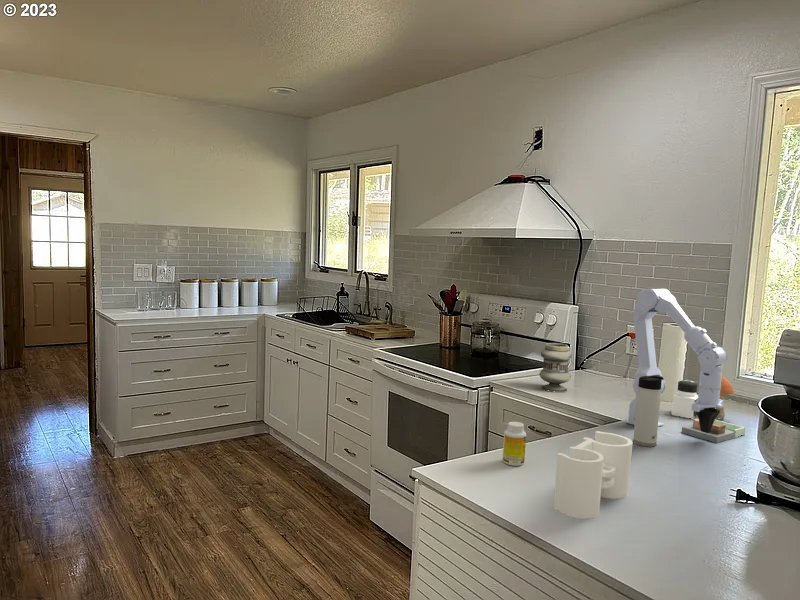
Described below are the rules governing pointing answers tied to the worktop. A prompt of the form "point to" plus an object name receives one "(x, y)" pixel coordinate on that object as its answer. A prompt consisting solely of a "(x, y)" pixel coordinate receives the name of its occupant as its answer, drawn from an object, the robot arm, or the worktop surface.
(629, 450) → the bracket
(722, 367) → the robot arm
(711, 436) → the slate board
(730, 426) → the sage tray
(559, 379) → the apothecary jar
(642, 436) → the travel mug
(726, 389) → the mushroom
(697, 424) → the terracotta tile
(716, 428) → the walnut tile
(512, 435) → the supplement bottle
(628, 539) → the worktop surface
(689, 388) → the medicine bottle
